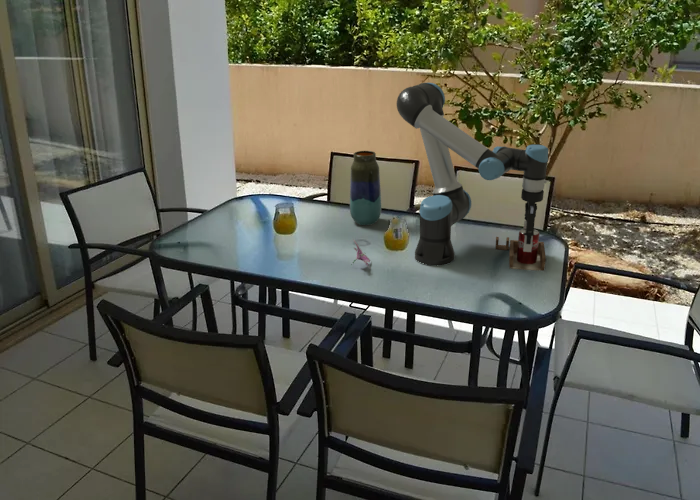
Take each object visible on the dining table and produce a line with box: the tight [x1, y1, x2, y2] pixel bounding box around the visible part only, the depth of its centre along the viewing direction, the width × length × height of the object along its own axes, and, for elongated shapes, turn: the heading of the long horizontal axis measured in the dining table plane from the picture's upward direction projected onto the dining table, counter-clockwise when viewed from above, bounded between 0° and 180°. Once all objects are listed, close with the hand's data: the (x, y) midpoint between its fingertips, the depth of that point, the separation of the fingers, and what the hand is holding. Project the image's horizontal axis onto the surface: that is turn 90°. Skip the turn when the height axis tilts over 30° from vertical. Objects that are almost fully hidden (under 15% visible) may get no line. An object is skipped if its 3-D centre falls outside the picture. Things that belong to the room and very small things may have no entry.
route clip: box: [494, 236, 510, 251], centre depth 247 cm, size 5×4×4 cm
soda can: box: [517, 228, 540, 265], centre depth 231 cm, size 7×7×12 cm
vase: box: [349, 150, 382, 226], centre depth 272 cm, size 14×14×31 cm
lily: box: [352, 238, 371, 268], centre depth 234 cm, size 12×12×10 cm
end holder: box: [508, 239, 547, 272], centre depth 234 cm, size 12×15×5 cm
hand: (526, 244), depth 231 cm, fingers open, 13 cm apart
